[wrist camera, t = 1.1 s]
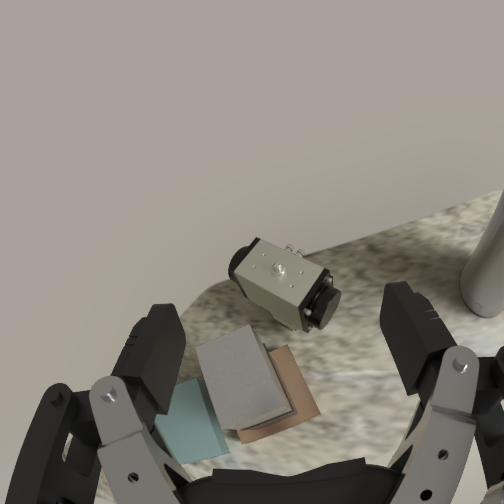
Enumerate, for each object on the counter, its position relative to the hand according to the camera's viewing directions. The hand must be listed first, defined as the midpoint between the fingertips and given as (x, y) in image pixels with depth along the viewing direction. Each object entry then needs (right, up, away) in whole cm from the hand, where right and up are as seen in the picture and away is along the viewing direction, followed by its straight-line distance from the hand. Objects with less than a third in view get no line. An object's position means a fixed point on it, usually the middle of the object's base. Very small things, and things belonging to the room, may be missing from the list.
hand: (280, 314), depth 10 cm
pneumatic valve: (+4, -6, +25) cm, 26 cm away
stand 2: (+1, -15, +19) cm, 24 cm away
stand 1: (-10, -20, +19) cm, 29 cm away
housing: (0, -13, +17) cm, 22 cm away
